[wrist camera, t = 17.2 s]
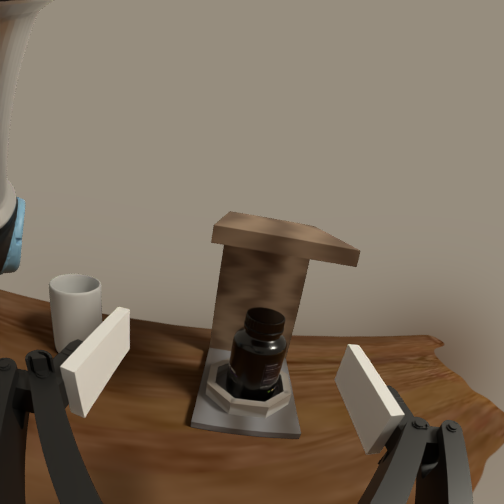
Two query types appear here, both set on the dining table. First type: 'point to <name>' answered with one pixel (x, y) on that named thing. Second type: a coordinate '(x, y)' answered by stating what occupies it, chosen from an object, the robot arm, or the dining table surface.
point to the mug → (74, 307)
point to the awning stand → (259, 295)
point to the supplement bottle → (257, 355)
